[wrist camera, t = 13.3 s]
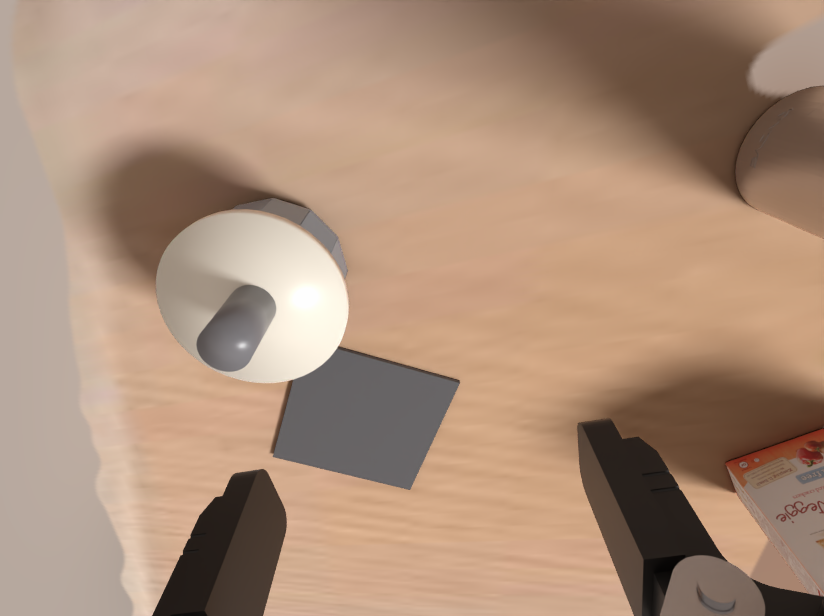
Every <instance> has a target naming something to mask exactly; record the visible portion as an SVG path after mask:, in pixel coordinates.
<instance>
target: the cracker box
mask: <svg viewBox="0 0 824 616" xmlns="http://www.w3.org/2000/svg"><path fill="white" fill-rule="evenodd" d="M726 466H727V469H728V472H729V474H730V477H731V480H732V482H733V485H734V487H735V490H736V493H737V496H738V497H739V499H740V500H741V501H742V503H743V504H744V506H745V507H746V508H747V510H748V511H749V513H750V514H751V515H752V517H753V518H754V519H755V521H756V522H757V523H758V525H759V526H760V528H761V529H762V530H763V532H764V533H765V535H766V536H767V537H768V539H769V540H770V541H771V543H772V544H773V546H774V547H775V548H776V550H777V551H778V552H779V554H780V555H781V556H782V558H783V559H784V560H785V562H786V563H787V565H788V566H789V567H790V569H791V570H792V571H793V573H794V574H795V575H796V577H797V578H798V580H799V581H800V582H801V584H802V585H803V586H804V588H805V589H806V590H807V592H808V593H809V594H812V595H818V596H823V597H824V428H823V429H820V430H817V431H815V432H812V433H809V434H806V435H803V436H800V437H797V438H795V439H792V440H789V441H786V442H783V443H780V444H777V445H775V446H772V447H769V448H766V449H763V450H760V451H757V452H755V453H752V454H749V455H746V456H743V457H740V458H737V459H734V460H731V461H728V462H726Z"/></svg>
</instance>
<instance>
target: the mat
mask: <svg viewBox="0 0 824 616" xmlns="http://www.w3.org/2000/svg"><path fill="white" fill-rule="evenodd" d="M459 384H460V381H459V380H456V379H452V378H448V377H445V376H441V375H438V374H434V373H431V372H427V371H423V370H420V369H416V368H413V367H409V366H406V365H402V364H398V363H395V362H391V361H388V360H384V359H380V358H377V357H373V356H370V355H366V354H363V353H359V352H355V351H352V350H348V349H345V348H341V347H337V349H336V350H335V352H334V353H333V354H332V355H331V357H330V358H329V359H328V360H327V361H326V362H325V363H324V364H323V365H321V366H320V367H318V368H317V369H316V370H314V371H312V372H310V373H308V374H306V375H304V376H302V377H299V378H296V379H294V380H293V383H292V387H291V391H290V395H289V398H288V402H287V406H286V410H285V413H284V417H283V421H282V425H281V428H280V432H279V436H278V440H277V443H276V447H275V451H274V455H273V457H275V458H280V459H284V460H288V461H292V462H296V463H300V464H305V465H309V466H313V467H317V468H321V469H325V470H329V471H334V472H338V473H342V474H346V475H350V476H354V477H358V478H363V479H367V480H371V481H375V482H379V483H383V484H388V485H392V486H396V487H400V488H404V489H408V490H410V489H411V487H412V484H413V482H414V480H415V478H416V476H417V474H418V472H419V469H420V467H421V465H422V463H423V461H424V459H425V457H426V454H427V452H428V450H429V448H430V446H431V444H432V442H433V439H434V437H435V435H436V433H437V431H438V429H439V427H440V424H441V422H442V420H443V418H444V416H445V414H446V412H447V409H448V407H449V405H450V403H451V401H452V399H453V397H454V394H455V392H456V390H457V388H458V386H459Z"/></svg>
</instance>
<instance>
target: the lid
mask: <svg viewBox="0 0 824 616" xmlns="http://www.w3.org/2000/svg"><path fill="white" fill-rule="evenodd" d="M156 295H157V302H158V305H159V308H160V312H161V314H162V317H163V319H164V321H165V323H166V325H167V327H168V328H169V330H170V332H171V333H172V335H173V336H174V337H175V339H176V340H177V341H178V342H179V344H180V345H181V346H182V347H183V348H184V349H185V350H186V351H187V352H188V353H190V354H191V355H192V356H193V357H194V358H196V359H197V360H198V361H200V362H201V363H203V364H204V365H206V366H207V367H209V368H211V369H213V370H215V371H217V372H219V373H221V374H224V375H226V376H229V377H232V378H235V379H239V380H243V381H248V382H256V383H277V382H285V381H289V380H293V379H296V378H299V377H302V376H304V375H306V374H308V373H310V372H312V371H314V370H316V369H317V368H318V367H320V366H321V365H323V364H324V363H325V362H326V361H327V360H328V359H329V358H330V357H331V355H332V354H333V353H334V352H335V350H336V349H337V347H338V345H339V344H340V342H341V340H342V337H343V335H344V332H345V328H346V324H347V320H348V315H349V295H348V289H347V285H346V281H345V279H344V276H343V273H342V271H341V269H340V267H339V265H338V264H337V262H336V260H335V259H334V257H333V256H332V254H331V253H330V252H329V250H328V249H327V248H326V247H325V246H324V245H323V244H322V243H321V242H320V241H319V240H318V239H317V238H316V237H315V236H313V235H312V234H311V233H310V232H308V231H307V230H305V229H304V228H302V227H301V226H299V225H298V224H296V223H294V222H292V221H290V220H288V219H286V218H283V217H281V216H278V215H275V214H272V213H268V212H263V211H258V210H249V209H233V210H226V211H220V212H217V213H214V214H210V215H208V216H205V217H203V218H201V219H199V220H197V221H196V222H194V223H193V224H191V225H190V226H188V227H187V228H186V229H184V230H183V231H181V232H180V233H179V234H178V235H177V236H176V237H175V238H174V239H173V240H172V241H171V243H170V244H169V245H168V247H167V248H166V250H165V252H164V253H163V255H162V257H161V260H160V263H159V266H158V269H157V275H156Z"/></svg>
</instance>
